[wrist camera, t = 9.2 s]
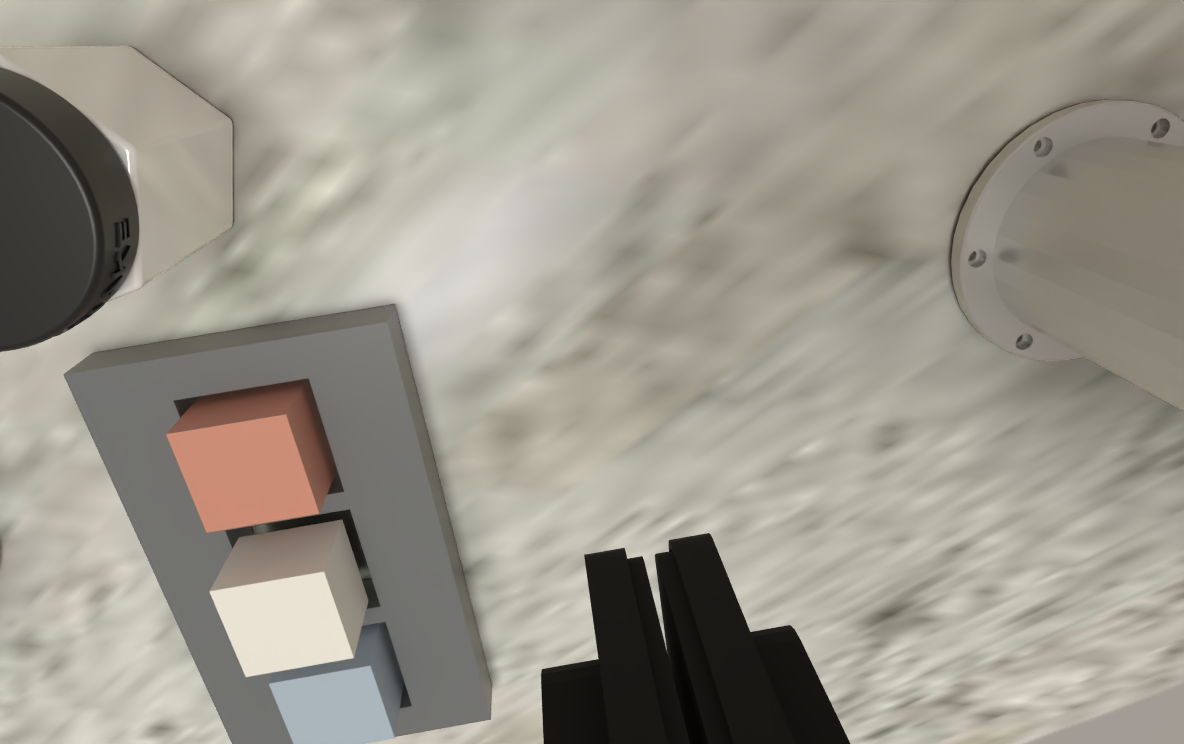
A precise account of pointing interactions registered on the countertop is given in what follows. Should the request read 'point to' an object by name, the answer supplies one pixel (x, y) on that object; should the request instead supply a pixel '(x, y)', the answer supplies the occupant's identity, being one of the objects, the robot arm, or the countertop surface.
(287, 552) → the ivory key
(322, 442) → the brick key
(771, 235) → the countertop surface
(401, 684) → the slate key
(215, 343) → the slotted grey plate
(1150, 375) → the robot arm
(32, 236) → the jar
